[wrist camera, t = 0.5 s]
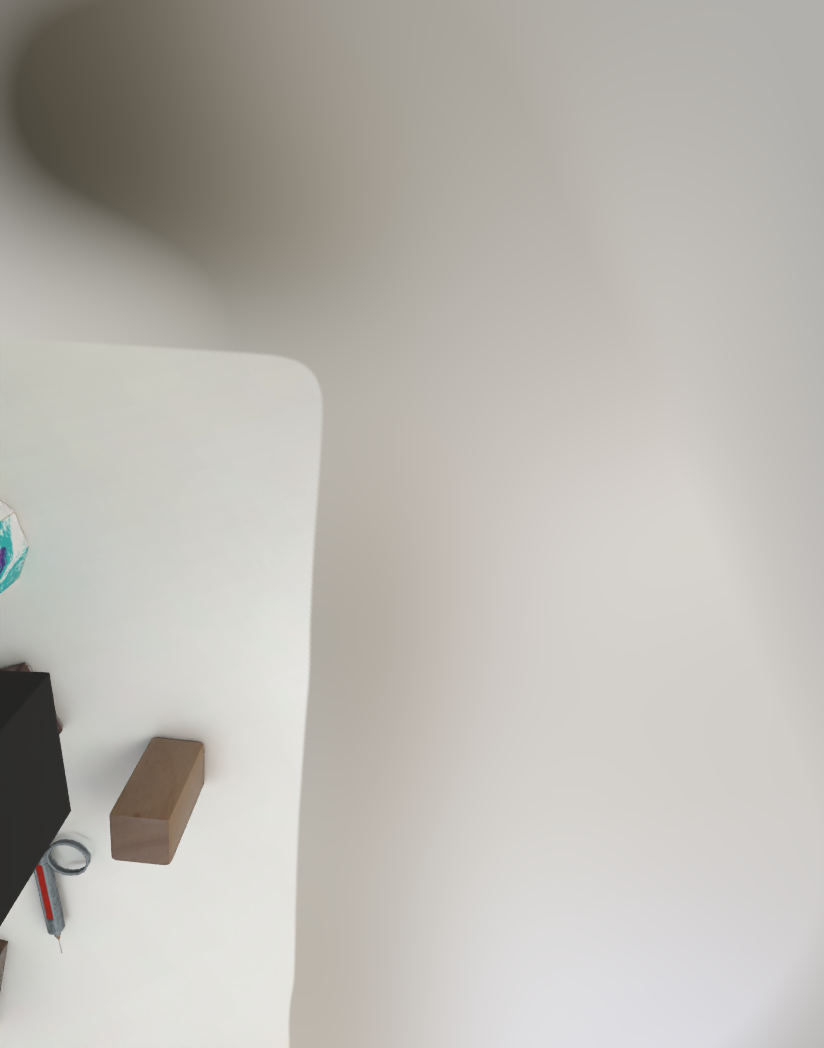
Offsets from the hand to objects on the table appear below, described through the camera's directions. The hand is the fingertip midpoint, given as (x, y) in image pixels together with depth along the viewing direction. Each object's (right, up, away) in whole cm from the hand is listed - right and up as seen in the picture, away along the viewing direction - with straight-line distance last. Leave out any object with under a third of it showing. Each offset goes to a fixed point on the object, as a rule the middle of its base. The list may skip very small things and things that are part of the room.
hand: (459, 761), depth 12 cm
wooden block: (-18, -14, +43) cm, 49 cm away
